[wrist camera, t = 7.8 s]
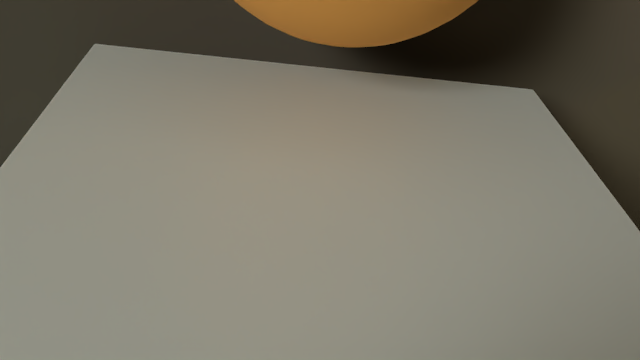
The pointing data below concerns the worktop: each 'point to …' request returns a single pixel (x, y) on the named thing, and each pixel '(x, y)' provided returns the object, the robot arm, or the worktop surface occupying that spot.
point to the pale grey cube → (305, 220)
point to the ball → (355, 19)
